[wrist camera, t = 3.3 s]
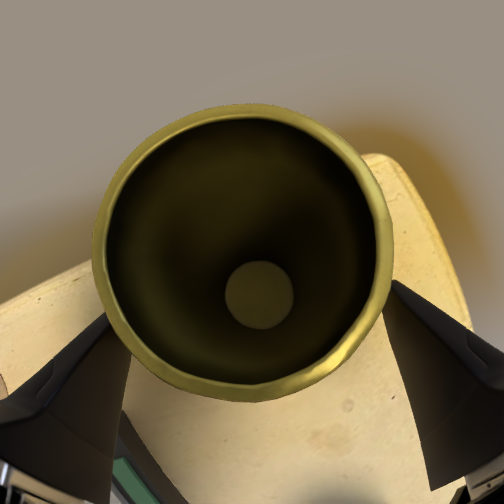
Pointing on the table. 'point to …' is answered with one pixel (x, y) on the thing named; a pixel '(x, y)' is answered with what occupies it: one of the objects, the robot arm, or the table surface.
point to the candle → (2, 389)
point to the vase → (243, 252)
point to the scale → (138, 472)
